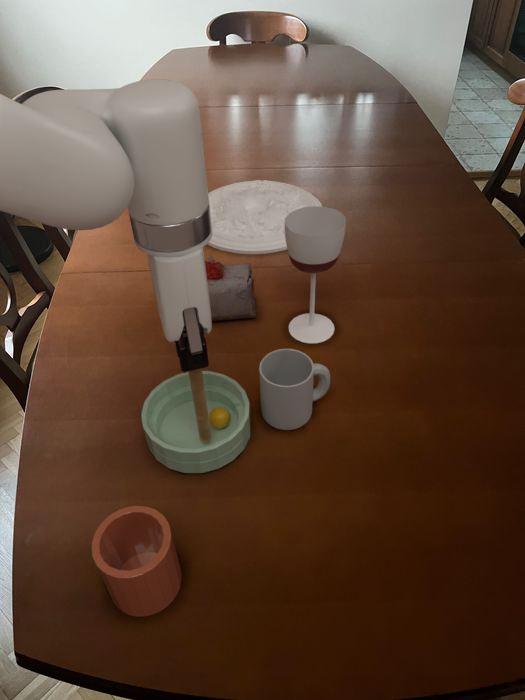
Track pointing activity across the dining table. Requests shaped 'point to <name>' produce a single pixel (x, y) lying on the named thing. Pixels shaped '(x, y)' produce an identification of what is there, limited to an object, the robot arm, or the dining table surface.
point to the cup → (290, 387)
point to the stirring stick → (200, 403)
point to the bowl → (195, 423)
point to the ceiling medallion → (254, 215)
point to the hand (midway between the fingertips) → (193, 360)
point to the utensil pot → (137, 560)
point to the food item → (230, 290)
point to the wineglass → (313, 261)
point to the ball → (219, 417)
